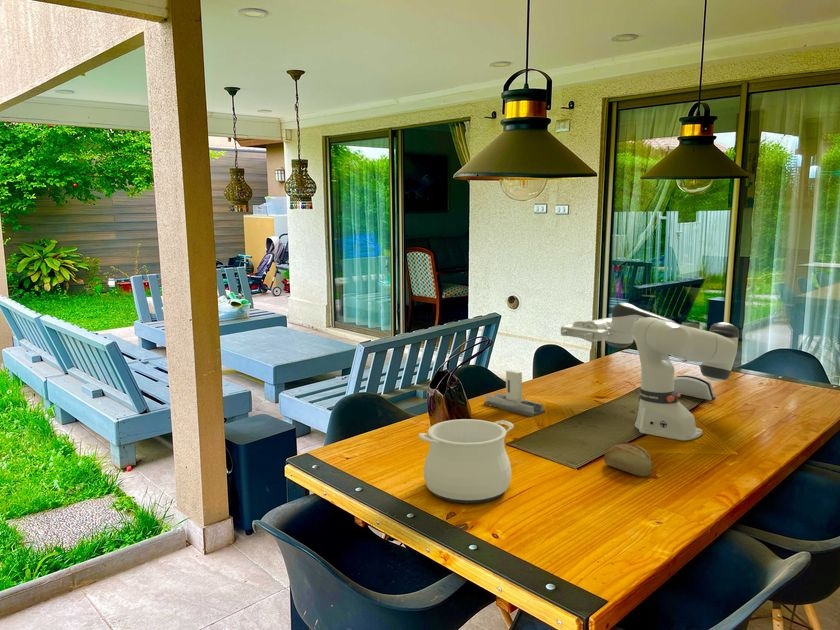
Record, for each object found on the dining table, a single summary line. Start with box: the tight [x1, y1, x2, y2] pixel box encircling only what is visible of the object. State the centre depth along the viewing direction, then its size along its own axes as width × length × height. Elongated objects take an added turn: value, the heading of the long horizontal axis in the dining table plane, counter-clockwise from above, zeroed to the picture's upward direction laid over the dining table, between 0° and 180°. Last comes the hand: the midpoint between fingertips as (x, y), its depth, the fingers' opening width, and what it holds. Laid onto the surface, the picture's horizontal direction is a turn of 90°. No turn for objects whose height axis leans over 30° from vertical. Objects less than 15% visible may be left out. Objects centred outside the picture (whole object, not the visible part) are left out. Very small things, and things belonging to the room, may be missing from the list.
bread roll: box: [603, 441, 653, 478], centre depth 192 cm, size 10×15×8 cm, turn 44°
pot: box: [417, 418, 515, 505], centre depth 180 cm, size 28×24×17 cm
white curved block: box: [674, 374, 717, 401], centre depth 271 cm, size 17×5×10 cm, turn 37°
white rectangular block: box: [505, 369, 523, 404], centre depth 257 cm, size 6×3×14 cm, turn 41°
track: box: [483, 392, 546, 418], centre depth 258 cm, size 24×9×4 cm, turn 41°
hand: (572, 335), depth 260 cm, fingers open, 8 cm apart
